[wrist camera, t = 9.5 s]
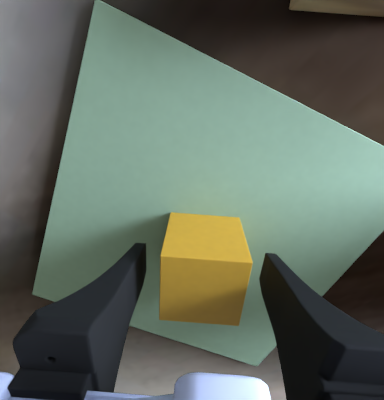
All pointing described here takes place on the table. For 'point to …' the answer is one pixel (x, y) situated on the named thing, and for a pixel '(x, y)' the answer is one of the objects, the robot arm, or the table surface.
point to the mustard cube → (203, 269)
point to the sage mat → (201, 177)
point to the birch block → (341, 6)
